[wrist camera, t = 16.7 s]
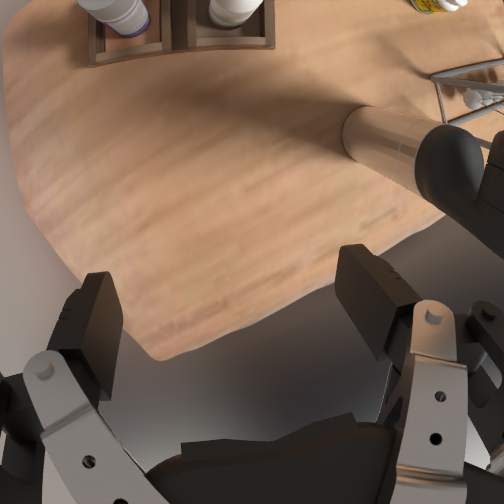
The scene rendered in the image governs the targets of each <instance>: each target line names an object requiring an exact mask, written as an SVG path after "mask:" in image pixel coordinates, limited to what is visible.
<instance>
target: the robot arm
mask: <svg viewBox="0 0 504 504" xmlns="http://www.w3.org/2000/svg"><path fill="white" fill-rule="evenodd" d="M342 140H343V145H344V147H345V150H346V152H347V153H348V154H349V156H350V157H352V158H353V159H354V160H356V161H358V162H360V163H361V164H363V165H365V166H367V167H369V168H371V169H372V170H374V171H376V172H378V173H380V174H382V175H383V176H385V177H387V178H389V179H391V180H392V181H394V182H396V183H398V184H399V185H401V186H403V187H405V188H406V189H408V190H410V191H412V192H413V193H415V194H417V195H418V196H420V197H422V198H423V199H425V200H427V201H428V202H430V203H431V204H433V205H434V206H435V207H437V208H438V209H439V210H441V211H442V212H444V213H445V214H447V215H448V216H450V217H451V218H452V219H454V220H455V221H456V222H458V223H459V224H460V225H462V226H463V227H464V228H465V229H467V230H468V231H469V232H470V233H471V234H473V235H474V236H475V237H476V238H477V239H478V240H480V241H481V242H482V243H483V244H484V245H485V246H487V247H488V248H489V249H490V250H492V251H493V252H494V253H495V254H496V255H498V256H499V257H500V258H502V259H504V130H503V131H500V132H498V133H497V134H496V135H495V137H494V139H493V142H492V145H491V148H490V152H489V155H488V159H487V163H488V164H486V166H485V170H484V159H483V154H482V150H481V148H480V145H479V143H478V142H477V140H476V139H475V137H474V136H473V135H472V134H470V133H469V132H468V131H466V130H464V129H462V128H459V127H456V126H452V125H449V124H445V123H442V122H438V121H434V120H430V119H426V118H422V117H418V116H414V115H410V114H405V113H401V112H396V111H391V110H387V109H382V108H376V107H370V106H365V107H360V108H358V109H356V110H354V111H353V112H352V113H351V114H350V115H349V116H348V118H347V119H346V121H345V123H344V126H343V131H342ZM335 292H336V295H337V298H338V299H339V301H340V303H341V304H342V306H343V307H344V309H345V311H346V312H347V313H348V315H349V317H350V318H351V320H352V322H353V323H354V325H355V326H356V328H357V330H358V331H359V333H360V334H361V336H362V337H363V339H364V341H365V342H366V344H367V346H368V347H369V349H370V350H371V352H372V354H373V355H374V357H375V359H376V360H377V362H378V361H382V360H385V359H389V358H390V359H391V361H392V364H391V366H390V369H389V374H388V379H387V383H386V388H385V392H384V397H383V401H382V405H381V409H380V413H379V415H378V418H377V420H376V422H375V423H372V422H356V420H355V418H354V416H353V413H352V412H349V413H346V414H343V415H339V416H335V417H332V418H328V419H324V420H321V421H317V422H313V423H311V424H309V425H307V426H305V427H303V428H301V429H299V430H297V431H295V432H293V433H291V434H288V435H286V436H284V437H282V438H280V439H278V440H275V441H270V442H265V441H263V442H262V441H245V440H231V439H219V440H210V441H199V442H188V443H187V442H186V443H181V452H182V454H179V455H176V456H173V457H171V458H169V459H166V460H164V461H163V462H161V463H159V464H157V465H156V466H155V467H153V468H152V469H150V470H149V471H148V472H146V471H145V470H144V469H143V468H142V467H141V465H140V464H139V463H138V462H137V461H136V460H135V459H134V457H133V456H132V455H131V454H130V453H129V451H128V450H127V449H126V448H125V446H124V445H123V444H122V443H121V441H120V440H119V439H118V437H117V436H116V435H115V433H114V432H113V431H112V429H111V428H110V427H109V425H108V424H107V422H106V421H105V420H104V418H103V417H102V415H101V414H100V412H99V411H98V405H99V401H111V397H112V389H113V382H114V375H115V368H116V361H117V355H118V349H119V343H120V338H121V332H122V327H123V312H122V308H121V305H120V302H119V299H118V295H117V292H116V289H115V286H114V283H113V279H112V276H111V274H110V273H109V272H108V271H106V272H97V273H88V274H87V276H86V278H85V280H84V282H83V285H82V287H81V289H76V290H75V291H74V292H73V293H72V294H71V295H70V296H69V297H68V298H67V300H66V302H65V304H64V307H63V309H62V312H61V313H60V316H59V320H58V321H57V323H56V325H55V328H54V330H53V333H52V336H51V338H50V341H49V343H48V346H47V349H46V351H42V352H40V353H38V354H36V355H34V356H33V357H32V358H31V359H30V360H29V361H28V362H27V364H26V365H25V368H24V370H23V373H20V374H16V375H12V376H9V377H5V378H4V376H3V375H2V374H1V372H0V436H1V431H3V432H4V433H6V440H5V446H4V451H3V458H2V465H0V504H42V483H43V468H44V467H43V466H44V456H45V448H46V450H47V452H48V454H49V456H50V458H51V460H52V462H53V464H54V465H55V467H56V469H57V471H58V473H59V474H60V476H61V478H62V480H63V482H64V483H65V485H66V487H67V488H68V490H69V491H70V493H71V495H72V496H73V498H74V499H75V501H76V503H77V504H504V314H503V313H502V311H501V310H500V309H499V308H498V307H496V306H495V305H493V304H491V303H489V302H486V301H477V302H475V303H474V304H473V305H472V307H471V310H470V312H469V314H453V313H452V312H451V310H450V309H448V307H446V306H445V305H443V304H442V303H439V302H437V301H432V300H423V299H422V298H421V297H420V296H419V295H418V294H417V293H416V292H415V291H414V290H413V289H412V288H411V286H410V285H409V284H408V283H407V282H406V281H405V280H404V279H402V277H401V276H400V275H399V274H398V273H397V272H395V270H394V268H393V267H392V266H391V265H390V264H389V263H388V262H387V261H385V260H383V259H381V258H379V257H378V256H376V255H373V254H372V253H371V252H370V251H369V250H368V249H367V248H366V247H365V246H364V245H363V244H354V245H345V246H342V247H341V248H340V251H339V257H338V264H337V271H336V277H335ZM487 354H488V355H489V356H490V358H491V359H492V360H493V362H494V363H495V365H496V366H497V367H498V369H499V370H500V372H501V374H502V383H501V386H500V387H499V388H498V389H497V388H496V386H495V385H494V383H493V382H492V380H491V379H490V377H489V376H488V374H487V373H486V372H485V370H484V369H483V367H482V366H481V363H482V361H483V360H484V358H485V357H486V355H487ZM467 414H468V416H469V418H470V419H471V421H472V423H473V425H474V427H475V428H476V430H477V432H478V434H479V436H480V438H481V439H482V441H483V443H484V445H485V447H486V449H487V451H488V453H489V455H490V464H488V465H487V467H486V470H484V469H482V468H479V467H477V466H474V465H472V464H469V463H467V462H465V461H464V457H465V447H466V434H467V433H466V432H467Z"/></svg>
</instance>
